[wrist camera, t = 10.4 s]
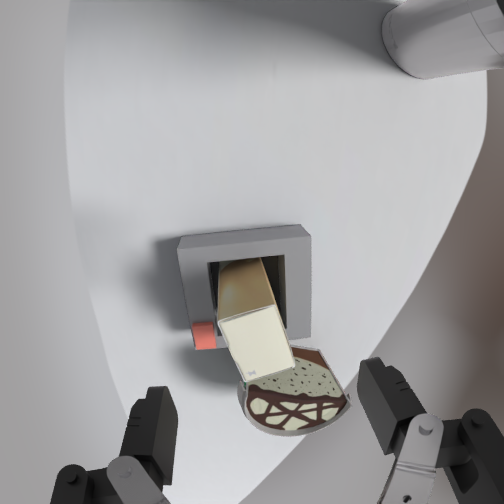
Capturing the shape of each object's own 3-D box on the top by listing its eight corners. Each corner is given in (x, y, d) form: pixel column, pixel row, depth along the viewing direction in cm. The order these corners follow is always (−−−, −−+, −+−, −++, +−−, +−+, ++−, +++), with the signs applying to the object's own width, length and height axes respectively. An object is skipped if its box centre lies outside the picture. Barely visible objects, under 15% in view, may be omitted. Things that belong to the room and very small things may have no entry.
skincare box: (274, 297, 35) (298, 370, 23) (236, 309, 35) (245, 386, 23) (257, 244, 33) (277, 303, 21) (216, 258, 33) (215, 323, 21)
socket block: (300, 224, 32) (312, 237, 28) (301, 317, 36) (312, 340, 32) (181, 236, 31) (175, 251, 27) (197, 329, 35) (195, 353, 31)
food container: (221, 372, 38) (224, 433, 28) (235, 333, 36) (241, 394, 27) (310, 385, 40) (330, 441, 31) (329, 351, 38) (356, 405, 29)
